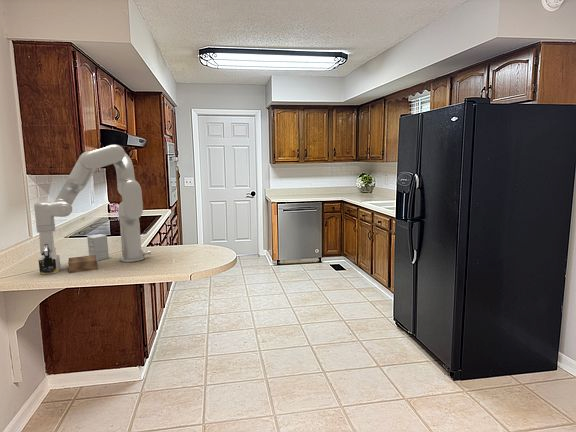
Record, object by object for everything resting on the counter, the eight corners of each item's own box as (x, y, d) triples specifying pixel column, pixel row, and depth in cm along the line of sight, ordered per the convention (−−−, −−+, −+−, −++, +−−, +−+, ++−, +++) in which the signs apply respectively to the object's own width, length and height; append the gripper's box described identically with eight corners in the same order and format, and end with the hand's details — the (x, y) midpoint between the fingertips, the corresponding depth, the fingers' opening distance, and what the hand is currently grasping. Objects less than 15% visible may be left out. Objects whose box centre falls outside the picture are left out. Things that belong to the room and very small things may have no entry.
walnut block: (96, 264, 205) (95, 254, 204) (97, 270, 195) (96, 260, 194) (69, 267, 200) (68, 258, 199) (69, 273, 189) (68, 263, 188)
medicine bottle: (39, 274, 188) (36, 249, 186) (44, 270, 195) (41, 246, 193) (56, 273, 190) (54, 248, 188) (60, 269, 196) (58, 244, 195)
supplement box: (102, 256, 220) (100, 233, 218) (109, 258, 216) (107, 235, 214) (88, 259, 215) (86, 235, 213) (95, 261, 210) (93, 237, 208)
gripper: (39, 226, 195) (42, 260, 198) (33, 232, 180) (38, 269, 182) (56, 224, 198) (60, 258, 201) (53, 230, 183) (57, 267, 185)
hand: (49, 263), depth 192 cm, fingers open, 9 cm apart
